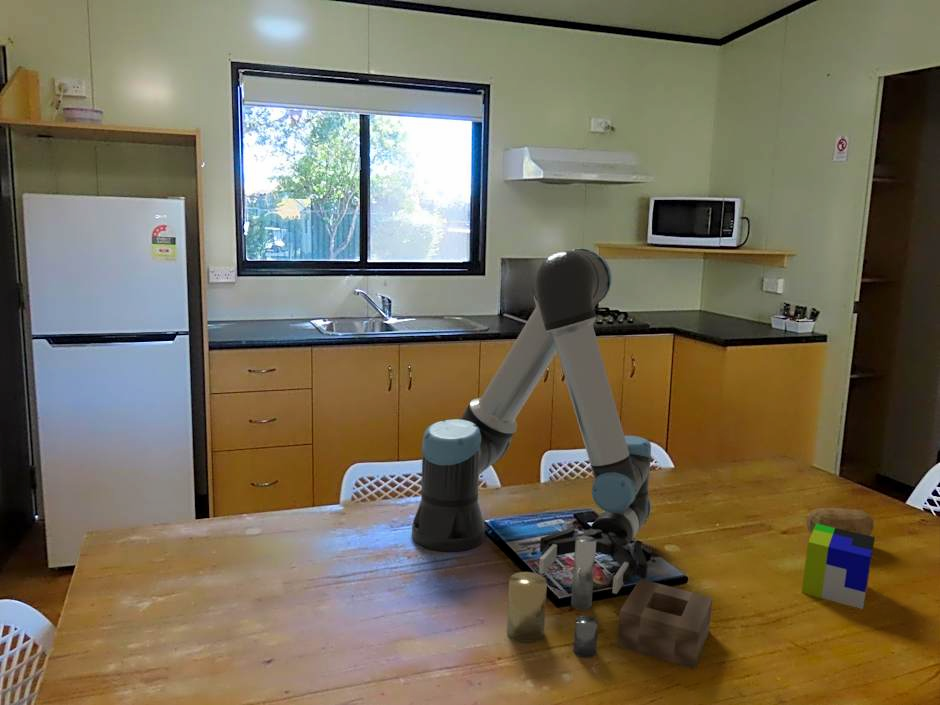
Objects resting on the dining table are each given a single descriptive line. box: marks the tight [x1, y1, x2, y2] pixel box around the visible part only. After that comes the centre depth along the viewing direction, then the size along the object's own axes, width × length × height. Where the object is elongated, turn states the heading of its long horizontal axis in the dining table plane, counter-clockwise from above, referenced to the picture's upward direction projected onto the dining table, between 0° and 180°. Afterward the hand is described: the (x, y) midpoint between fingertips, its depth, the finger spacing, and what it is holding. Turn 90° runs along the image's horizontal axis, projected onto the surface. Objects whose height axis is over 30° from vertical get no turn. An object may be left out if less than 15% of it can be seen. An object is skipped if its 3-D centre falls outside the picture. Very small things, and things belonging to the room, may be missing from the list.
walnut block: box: [616, 578, 714, 670], centre depth 119 cm, size 12×12×6 cm
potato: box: [805, 507, 875, 536], centre depth 156 cm, size 10×14×8 cm
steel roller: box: [570, 536, 597, 611], centre depth 128 cm, size 4×4×12 cm
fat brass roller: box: [506, 571, 548, 644], centre depth 119 cm, size 6×6×9 cm
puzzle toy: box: [801, 524, 875, 610], centre depth 137 cm, size 10×10×10 cm
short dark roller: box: [572, 615, 599, 659], centre depth 115 cm, size 4×4×5 cm
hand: (577, 575), depth 124 cm, fingers open, 12 cm apart
